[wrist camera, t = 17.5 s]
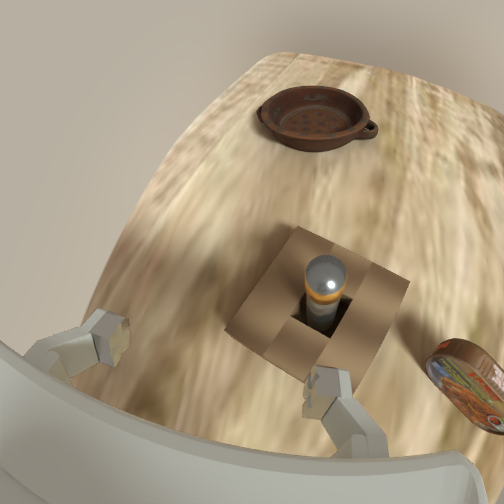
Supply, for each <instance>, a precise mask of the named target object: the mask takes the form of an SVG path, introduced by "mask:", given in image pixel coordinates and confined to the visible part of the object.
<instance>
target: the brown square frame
mask: <svg viewBox="0 0 504 504" xmlns="http://www.w3.org/2000/svg"><path fill="white" fill-rule="evenodd" d="M320 255H331V256H334V257H336V258H338V259H339V260H341V261H342V263H343V264H344V266H345V268H346V272H347V281H346V285H345V288H344V292H343V294H342V296H341V298H340V301H339V304H338V306H340V307H341V308H343V309H345V310H347V311H346V313H345V315H344V316H343V318H342V320H341V322H340V323H339V325H338V327H337V328H336V330H335V332H334V334H333V335H332V337H331V339H330V338H328V337H326V336H325V335H323V334H321V333H319V332H317V331H316V330H314V329H312V328H310V327H309V326H307V325H305V324H303V323H302V322H300V321H298V320H296V319H297V317H298V316H299V314H300V312H301V311H302V309H303V308H304V306H305V305H306V291H305V278H304V275H305V270H306V268H307V266H308V264H309V263H310V261H311V260H312V259H314V258H315V257H317V256H320ZM409 283H410V281H408V280H406V279H404V278H402V277H401V276H399V275H397V274H395V273H393V272H391V271H389V270H387V269H385V268H383V267H381V266H379V265H377V264H375V263H373V262H371V261H369V260H367V259H365V258H363V257H361V256H359V255H357V254H355V253H353V252H351V251H349V250H347V249H345V248H343V247H341V246H339V245H337V244H335V243H333V242H331V241H329V240H326V239H324V238H322V237H320V236H318V235H316V234H314V233H312V232H310V231H307V230H305V229H303V228H301V227H299V226H297V228H296V229H295V231H294V232H293V233H292V235H291V236H290V238H289V239H288V241H287V242H286V244H285V245H284V246H283V248H282V249H281V251H280V252H279V254H278V255H277V256H276V258H275V259H274V261H273V262H272V264H271V265H270V266H269V268H268V269H267V271H266V272H265V273H264V275H263V276H262V278H261V279H260V281H259V282H258V283H257V285H256V286H255V288H254V289H253V290H252V292H251V293H250V295H249V296H248V297H247V299H246V300H245V302H244V303H243V304H242V306H241V307H240V308H239V310H238V311H237V313H236V314H235V315H234V317H233V318H232V320H231V321H230V322H229V324H228V325H227V326H226V328H225V329H224V330H225V331H226V332H227V333H228V334H229V335H230V336H231V337H233V338H234V339H235V340H237V341H238V342H240V343H241V344H243V345H244V346H246V347H247V348H249V349H250V350H252V351H253V352H255V353H256V354H258V355H259V356H261V357H262V358H264V359H266V360H267V361H269V362H270V363H272V364H274V365H275V366H277V367H278V368H280V369H282V370H283V371H285V372H286V373H288V374H290V375H291V376H293V377H295V378H296V379H298V380H300V381H301V382H303V383H305V382H306V379H307V377H308V376H310V375H311V369H312V367H313V366H314V365H321V366H328V367H335V368H343V369H348V370H349V374H350V381H351V389H352V395H353V394H354V392H355V390H356V389H357V387H358V385H359V384H360V382H361V380H362V379H363V377H364V375H365V374H366V372H367V370H368V368H369V366H370V365H371V363H372V361H373V359H374V357H375V355H376V354H377V352H378V350H379V348H380V346H381V344H382V342H383V340H384V338H385V336H386V334H387V332H388V330H389V328H390V326H391V324H392V322H393V320H394V317H395V315H396V313H397V311H398V309H399V306H400V304H401V302H402V300H403V297H404V295H405V293H406V290H407V288H408V285H409Z"/></svg>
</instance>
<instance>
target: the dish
mask: <svg viewBox="0 0 504 504" xmlns="http://www.w3.org/2000/svg"><path fill="white" fill-rule="evenodd" d="M257 116H258V118H259V120H260V121H261V122H263V123H264V124H265V125H266V126H267V127H268V128H269V129H271V130H272V132H273V133H274V134H275V136H276V137H277V138H278V139H279V140H280V141H281V142H283V143H284V144H286V145H288V146H290V147H292V148H295V149H298V150H302V151H309V152H323V151H329V150H333V149H337V148H339V147H342V146H344V145H346V144H348V143H349V142H351V141H352V140H354V139H373V138H375V137H376V135H377V133H378V126H377V125H376V124H375V123H374V122H373V121H371V120H370V119H369V118H370V116H369V113H368V111H367V108H366V107H365V105H364V104H363V103H362V102H361V101H360V100H359V99H358V98H356V97H355V96H353V95H351V94H350V93H348V92H345V91H343V90H340V89H336V88H332V87H325V86H300V87H293V88H289V89H286V90H283V91H281V92H279V93H277V94H275V95H274V96H272V97H271V98H269V99H268V100H267V101H266V102H265V103H264V104H263V106H261V107H259V108H258V110H257ZM364 128H367V129H369V130H365V129H364Z"/></svg>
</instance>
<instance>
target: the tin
mask: <svg viewBox="0 0 504 504" xmlns="http://www.w3.org/2000/svg"><path fill="white" fill-rule="evenodd" d="M426 371H427V374H428V376H429V377H430V379H431V380H432V382H433V383H434V384H435V385H436V386H437V387H438V388H439V389H440V390H441V391H442V392H443V393H444V394H445V395H446V396H447V397H448V398H449V399H450V400H451V401H452V402H453V403H454V404H455V405H456V406H457V407H458V408H459V409H460V410H461V411H462V412H463V413H464V415H466V417H467V418H468V419H469V420H470V421H471V422H473V423H474V424H475V425H476V426H478V427H479V428H481V429H483V430H485V431H487V432H489V433H493V434H497V435H504V370H503V369H502V368H501V367H500V366H499V365H498V364H497V363H496V362H495V361H494V360H493V358H492V357H491V356H490V355H489V354H488V353H487V352H486V351H485V350H483V349H482V348H481V347H479V346H478V345H476V344H474V343H472V342H470V341H467V340H464V339H458V338H453V339H449V340H446V341H444V342H442V343H441V344H440V345H439V346H438V347H437V349H436V350H435V351H434V353H433V354H432V356H430V357H429V358H428V359H427V361H426Z"/></svg>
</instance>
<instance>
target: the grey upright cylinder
mask: <svg viewBox="0 0 504 504" xmlns="http://www.w3.org/2000/svg"><path fill="white" fill-rule="evenodd" d="M304 278H305V291H306V305H307V323H308V325H309V327H310V328H312V329H314V330H316V331H318V332H322V331H325V330H327V329H329V328H330V327H331V325H332V323H333V320H334V317H335V314H336V311H337V308H338V304H339V301H340V298H341V296H342V294H343V292H344V288H345V285H346V281H347V272H346V268H345V266H344V264H343V263H342V261H341V260H339V259H338V258H336V257H334V256H331V255H320V256H317V257H315V258H314V259H312V260H311V261H310V263H309V264H308V266H307V268H306V270H305V275H304Z"/></svg>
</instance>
